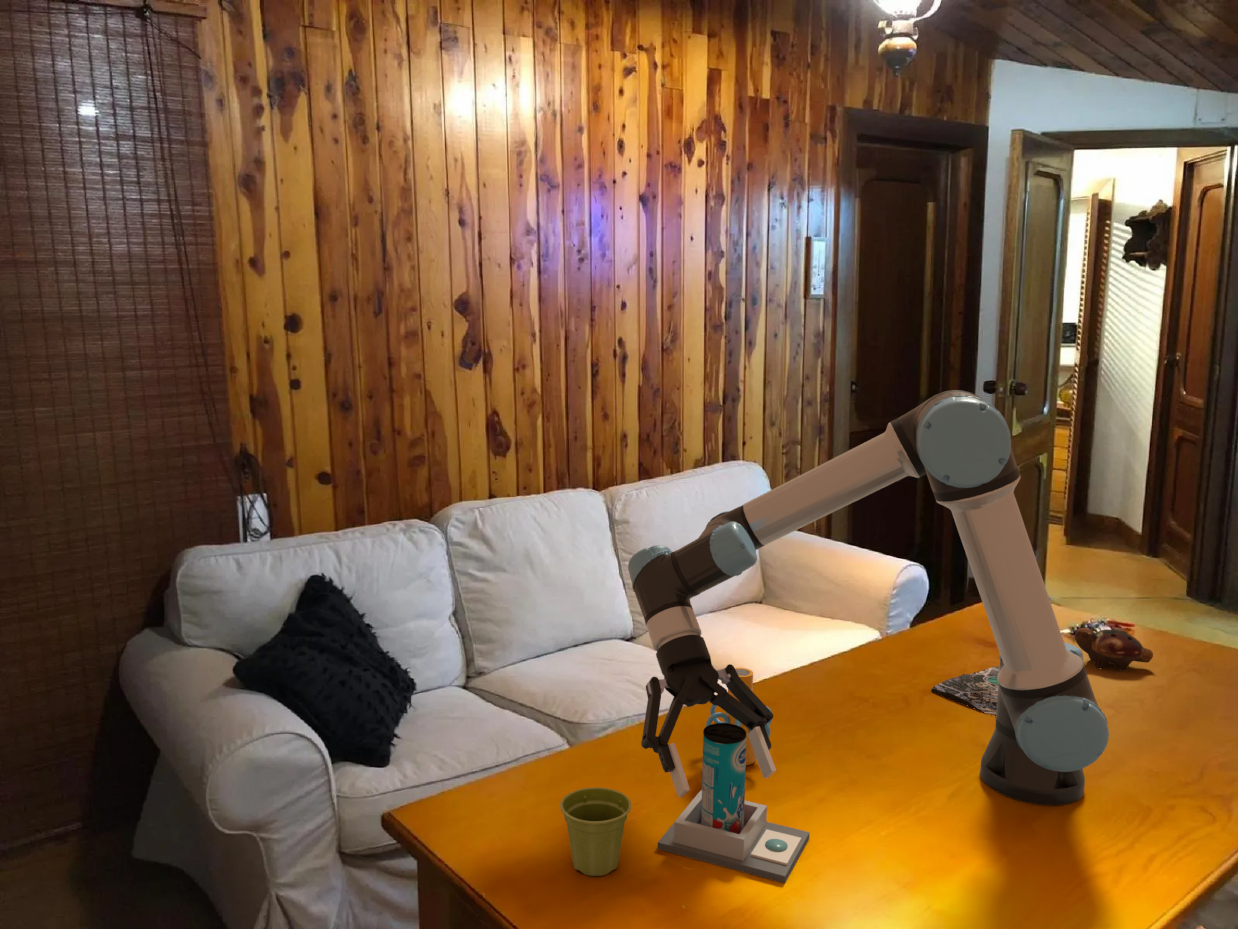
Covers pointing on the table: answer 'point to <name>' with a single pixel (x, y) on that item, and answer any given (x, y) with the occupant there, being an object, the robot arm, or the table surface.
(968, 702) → the terrain model
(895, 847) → the table surface
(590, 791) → the plant pot
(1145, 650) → the decorative turtle
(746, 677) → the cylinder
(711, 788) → the beverage can
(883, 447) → the robot arm
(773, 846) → the can holder
